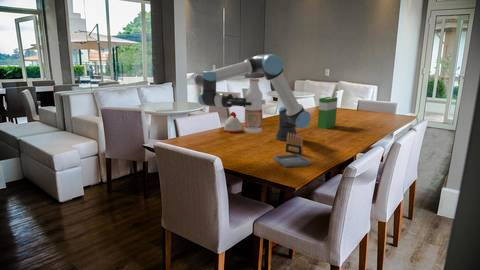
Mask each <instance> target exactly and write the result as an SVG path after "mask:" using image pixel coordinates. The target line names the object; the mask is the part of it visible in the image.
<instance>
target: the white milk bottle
mask: <svg viewBox="0 0 480 270" xmlns="http://www.w3.org/2000/svg"><path fill="white" fill-rule="evenodd" d="M259 82H260V79H259V78H249V86H248V89H247V91H246V92H245V96H244V98H246V101H257V102H258V107H251V106H246V105H245V107H244V131H245V132H247V133H252V134H254V133H255V134H256V133H261V132H262V131H263V105H262V102H261V101H262V99H263V93H262V91H261V90H260V85H259Z"/></svg>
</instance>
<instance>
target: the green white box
mask: <svg viewBox="0 0 480 270" xmlns="http://www.w3.org/2000/svg"><path fill="white" fill-rule="evenodd" d="M337 107H338V97H331V96H325V97H321V98H320V97H319V100H318V115H317V128H318V129H322V130H327V129H330V128H332V127H333V128H334V127H336V122H337V121H336V120H337V119H336V118H337Z"/></svg>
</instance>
